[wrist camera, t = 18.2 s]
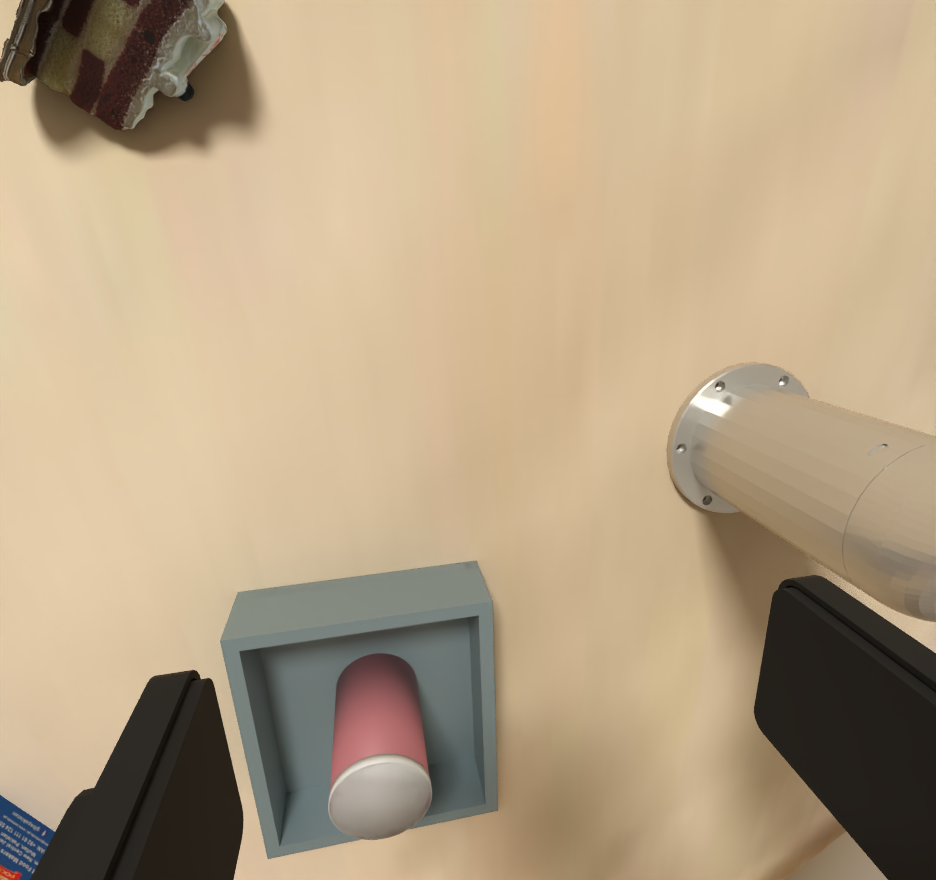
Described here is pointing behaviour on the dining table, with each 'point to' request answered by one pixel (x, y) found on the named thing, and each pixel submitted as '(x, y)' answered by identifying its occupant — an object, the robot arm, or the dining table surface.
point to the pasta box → (20, 842)
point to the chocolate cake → (112, 51)
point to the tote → (315, 678)
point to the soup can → (378, 750)
